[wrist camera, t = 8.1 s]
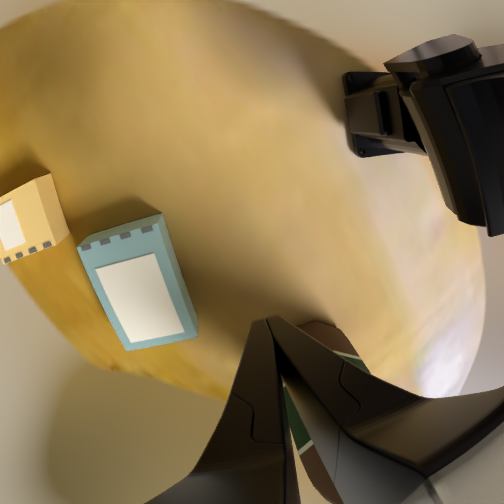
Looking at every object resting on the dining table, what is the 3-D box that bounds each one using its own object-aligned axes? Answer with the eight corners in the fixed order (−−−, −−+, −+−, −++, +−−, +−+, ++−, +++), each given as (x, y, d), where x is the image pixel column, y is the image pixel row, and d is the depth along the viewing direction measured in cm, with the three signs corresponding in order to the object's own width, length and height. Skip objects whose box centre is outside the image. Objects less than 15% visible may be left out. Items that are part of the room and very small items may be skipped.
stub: (50, 173, 16) (33, 179, 14) (69, 232, 18) (55, 245, 16) (-1, 199, 16) (-19, 208, 14) (17, 252, 18) (2, 265, 16)
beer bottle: (332, 373, 28) (427, 565, 7) (262, 381, 27) (330, 609, 5) (352, 315, 25) (499, 534, 4) (272, 319, 24) (387, 612, 2)
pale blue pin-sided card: (162, 212, 19) (157, 223, 17) (197, 318, 23) (198, 338, 21) (88, 235, 19) (75, 248, 16) (131, 332, 22) (126, 352, 20)
